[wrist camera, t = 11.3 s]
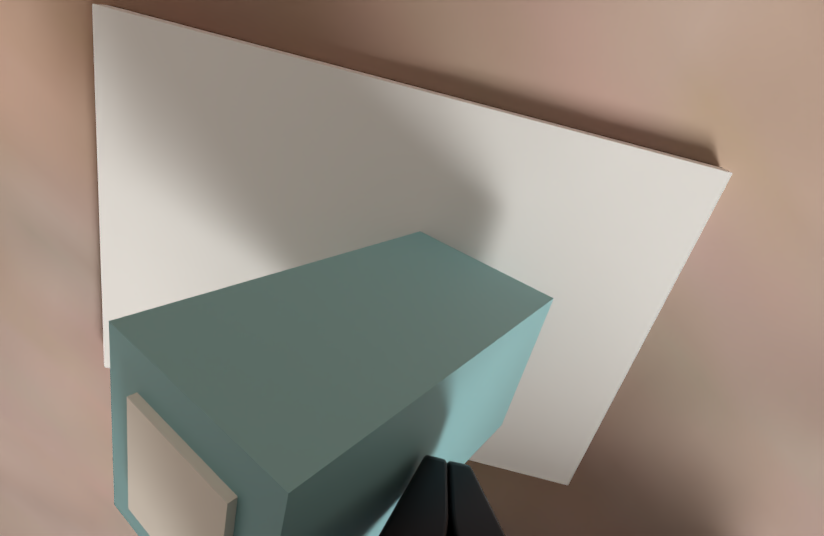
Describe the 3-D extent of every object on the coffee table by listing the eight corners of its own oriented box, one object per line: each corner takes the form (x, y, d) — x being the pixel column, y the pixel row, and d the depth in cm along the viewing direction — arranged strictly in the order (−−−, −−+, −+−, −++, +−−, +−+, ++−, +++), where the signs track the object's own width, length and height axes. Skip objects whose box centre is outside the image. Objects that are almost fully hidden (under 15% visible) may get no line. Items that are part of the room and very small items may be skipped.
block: (553, 298, 12) (278, 501, 5) (501, 425, 13) (245, 692, 7) (420, 231, 14) (97, 323, 7) (389, 350, 15) (105, 509, 9)
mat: (721, 167, 13) (732, 173, 12) (564, 471, 17) (567, 485, 17) (108, 5, 13) (91, 3, 12) (115, 356, 17) (104, 366, 17)
